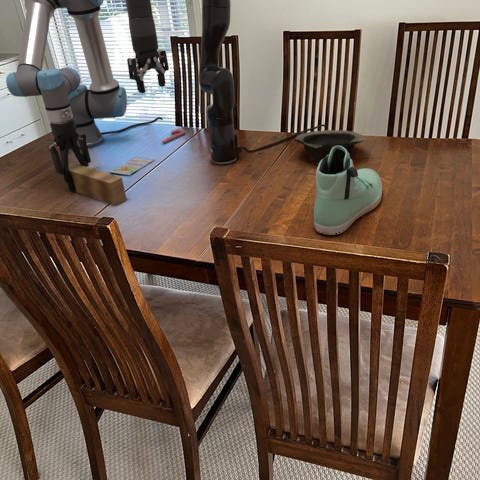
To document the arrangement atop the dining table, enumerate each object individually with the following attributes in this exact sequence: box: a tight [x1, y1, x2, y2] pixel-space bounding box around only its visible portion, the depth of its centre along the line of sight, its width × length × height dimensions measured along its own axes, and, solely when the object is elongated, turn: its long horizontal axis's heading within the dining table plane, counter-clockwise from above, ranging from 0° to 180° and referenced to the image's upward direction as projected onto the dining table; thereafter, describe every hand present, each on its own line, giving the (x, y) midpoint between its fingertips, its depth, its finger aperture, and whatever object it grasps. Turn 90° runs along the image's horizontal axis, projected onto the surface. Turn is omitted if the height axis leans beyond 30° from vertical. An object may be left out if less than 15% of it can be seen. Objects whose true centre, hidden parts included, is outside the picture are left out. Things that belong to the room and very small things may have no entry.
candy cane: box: [161, 128, 186, 144], centre depth 202 cm, size 6×15×2 cm, turn 145°
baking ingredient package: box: [110, 157, 154, 176], centre depth 178 cm, size 9×1×15 cm
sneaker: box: [313, 146, 383, 236], centre depth 133 cm, size 14×35×20 cm, turn 152°
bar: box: [64, 162, 127, 206], centre depth 158 cm, size 25×5×8 cm, turn 53°
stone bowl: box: [294, 129, 367, 165], centre depth 171 cm, size 25×25×9 cm
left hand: (79, 187), depth 164 cm, fingers closed on bar, 5 cm apart
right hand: (152, 89), depth 149 cm, fingers open, 8 cm apart
